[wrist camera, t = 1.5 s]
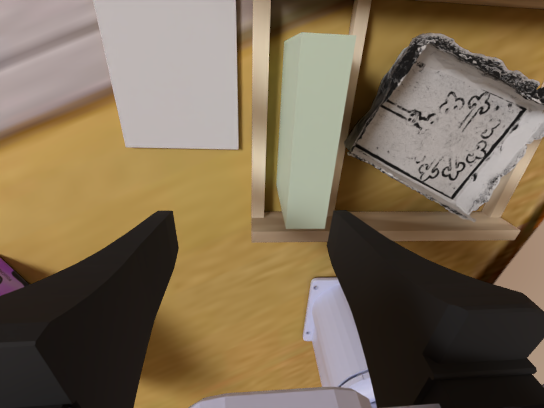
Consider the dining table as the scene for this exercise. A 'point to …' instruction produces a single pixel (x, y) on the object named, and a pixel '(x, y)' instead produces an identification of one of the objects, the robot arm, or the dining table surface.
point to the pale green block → (311, 124)
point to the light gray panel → (173, 71)
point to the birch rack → (386, 223)
